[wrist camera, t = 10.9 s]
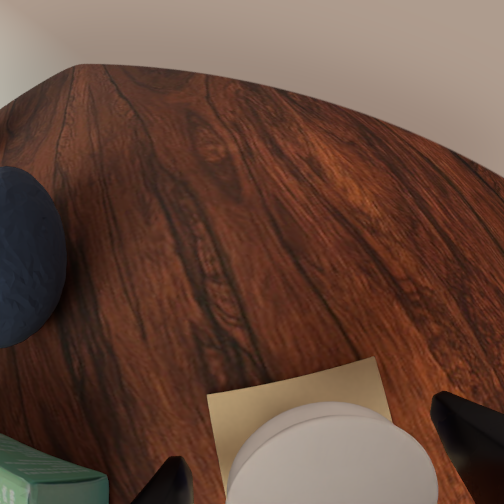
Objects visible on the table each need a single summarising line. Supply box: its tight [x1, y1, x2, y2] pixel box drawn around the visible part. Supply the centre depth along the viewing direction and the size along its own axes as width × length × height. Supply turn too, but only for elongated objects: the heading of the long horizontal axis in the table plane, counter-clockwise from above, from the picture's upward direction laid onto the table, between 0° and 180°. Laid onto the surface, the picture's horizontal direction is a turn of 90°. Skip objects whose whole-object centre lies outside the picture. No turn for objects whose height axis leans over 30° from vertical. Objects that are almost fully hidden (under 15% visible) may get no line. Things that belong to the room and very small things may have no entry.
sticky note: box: [207, 356, 392, 499], centre depth 13 cm, size 9×9×1 cm
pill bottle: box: [225, 401, 438, 504], centre depth 9 cm, size 6×6×10 cm
